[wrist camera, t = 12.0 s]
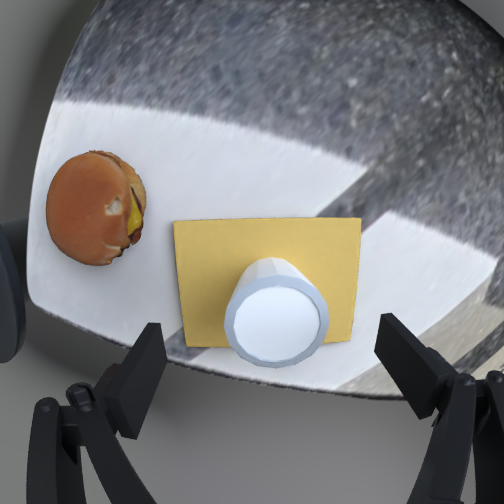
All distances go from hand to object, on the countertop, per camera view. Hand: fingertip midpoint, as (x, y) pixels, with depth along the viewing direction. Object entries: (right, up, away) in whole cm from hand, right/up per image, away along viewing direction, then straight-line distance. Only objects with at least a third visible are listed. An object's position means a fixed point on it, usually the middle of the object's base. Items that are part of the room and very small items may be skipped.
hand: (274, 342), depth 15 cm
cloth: (0, +2, +9) cm, 9 cm away
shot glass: (0, +2, +9) cm, 9 cm away
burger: (-15, +10, +8) cm, 19 cm away
